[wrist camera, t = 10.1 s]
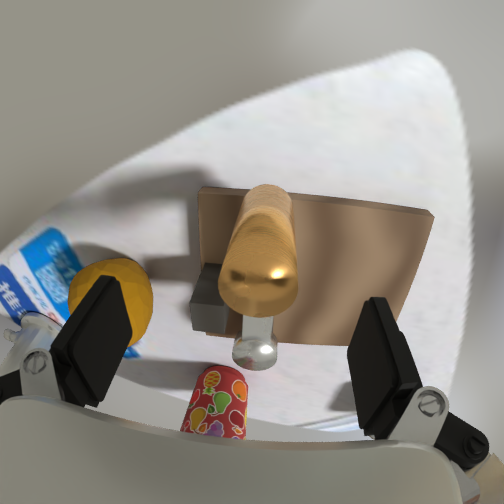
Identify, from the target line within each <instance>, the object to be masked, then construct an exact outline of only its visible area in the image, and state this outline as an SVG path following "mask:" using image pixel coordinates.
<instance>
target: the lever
mask: <svg viewBox="0 0 504 504" xmlns="http://www.w3.org/2000/svg"><path fill="white" fill-rule="evenodd" d="M218 289H219V293H220V295H221V297H222V299H223V300H224V302H225V303H226V304H227V305H228V306H229V307H230V308H232V309H233V310H234V311H236V312H238V313H240V314H243V329H242V330H240V331H239V332H238V333H237V334H236V336H235V341H234V346H233V352H232V358H233V360H234V362H235V363H236V364H237V365H239V366H240V367H242V368H245V369H248V370H254V371H260V370H265V369H268V368H270V367H272V366H273V365H274V364H275V363H276V360H277V344H278V341H277V337H276V336H275V334H274V333H273V332H271V331H272V324H273V317H274V316H275V315H278V314H280V313H282V312H284V311H285V310H287V309H288V308H289V307H290V306H291V305H292V304H293V302H294V301H295V299H296V297H297V294H298V272H297V255H296V240H295V225H294V212H293V203H292V200H291V198H290V196H289V195H288V194H287V193H286V192H285V191H284V190H283V189H282V188H280V187H278V186H275V185H270V184H264V185H259V186H256V187H254V188H253V189H251V190H250V191H249V192H248V193H247V194H246V195H245V197H244V199H243V202H242V205H241V208H240V211H239V214H238V218H237V221H236V224H235V227H234V230H233V233H232V237H231V240H230V243H229V246H228V249H227V253H226V256H225V259H224V262H223V265H222V269H221V272H220V275H219V279H218Z"/></svg>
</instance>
